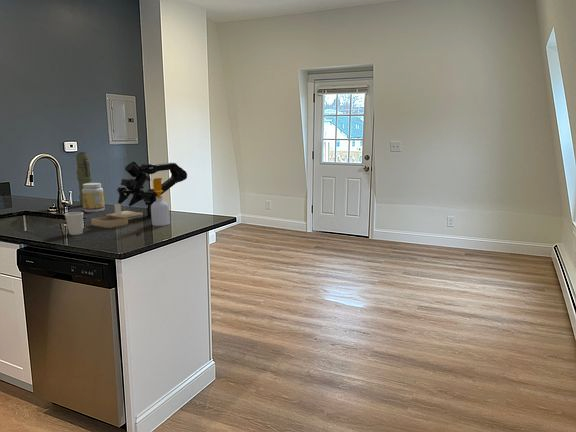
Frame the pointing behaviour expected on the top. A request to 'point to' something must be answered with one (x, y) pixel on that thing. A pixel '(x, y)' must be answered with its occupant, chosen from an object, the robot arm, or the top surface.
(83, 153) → the green cactus
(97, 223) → the carton
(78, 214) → the dixie cup
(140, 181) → the robot arm
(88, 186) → the supplement tub
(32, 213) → the top surface
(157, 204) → the soap bottle
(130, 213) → the carton lid
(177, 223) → the top surface
